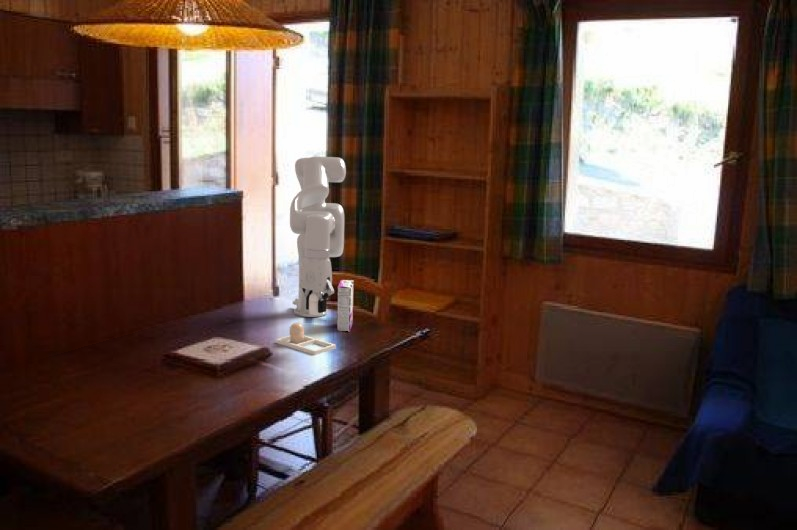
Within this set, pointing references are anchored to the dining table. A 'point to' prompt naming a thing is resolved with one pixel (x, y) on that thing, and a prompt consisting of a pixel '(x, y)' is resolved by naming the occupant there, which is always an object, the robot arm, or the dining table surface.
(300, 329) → the brown egg
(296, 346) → the caddy
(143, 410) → the dining table surface
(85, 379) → the dining table surface
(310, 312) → the white egg
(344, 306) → the candy bar box
